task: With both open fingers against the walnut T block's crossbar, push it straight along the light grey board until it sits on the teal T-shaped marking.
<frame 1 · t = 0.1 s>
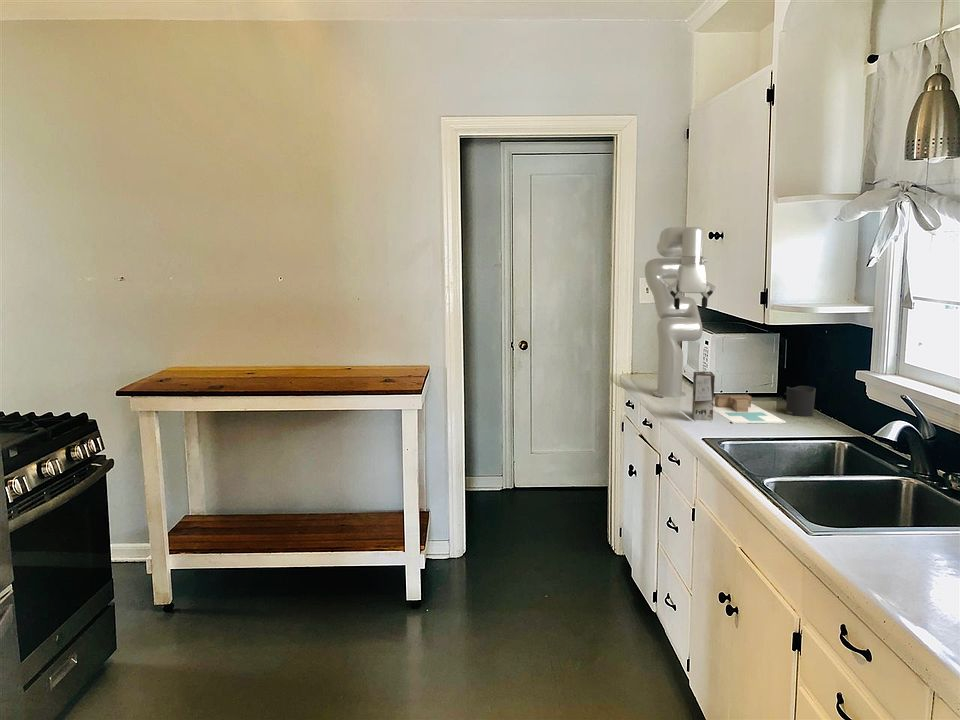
hand: (690, 309, 270), 37 cm above the worktop, tool pointing down, fingers open, 9 cm apart
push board: (740, 412, 267), on the worktop
coffee box: (702, 419, 257), on the worktop
t block: (734, 407, 273), point 1 cm above the worktop, touching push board
pen holder: (799, 416, 262), on the worktop
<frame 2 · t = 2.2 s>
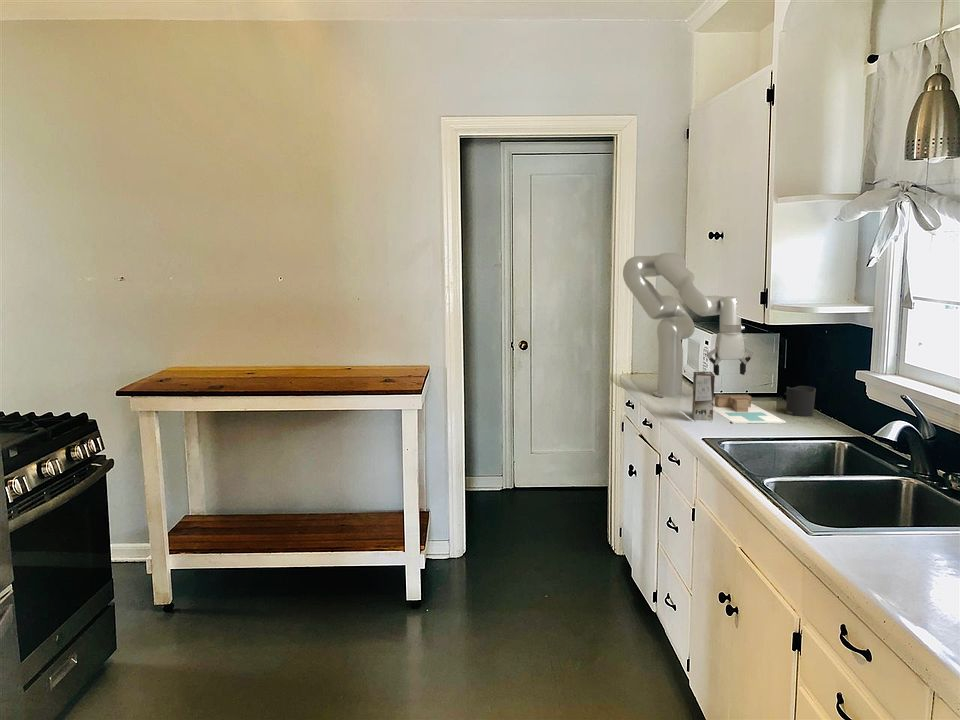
hand: (729, 374, 280), 11 cm above the worktop, tool pointing down, fingers open, 9 cm apart
nothing on the worktop moved.
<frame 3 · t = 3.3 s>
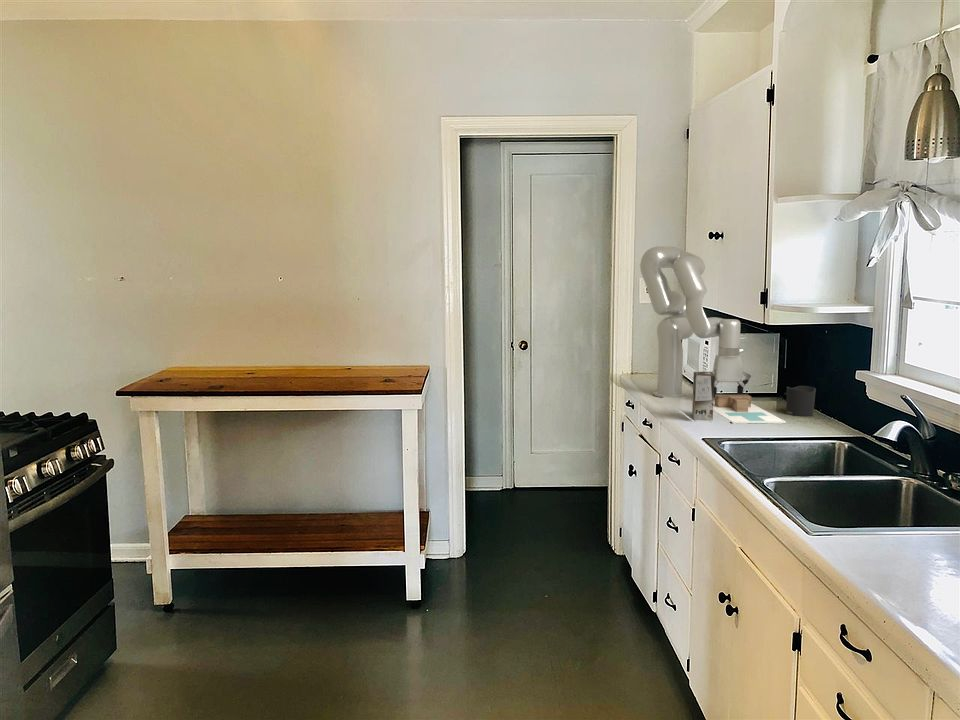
hand: (726, 396, 281), 3 cm above the worktop, tool pointing down, fingers open, 9 cm apart
nothing on the worktop moved.
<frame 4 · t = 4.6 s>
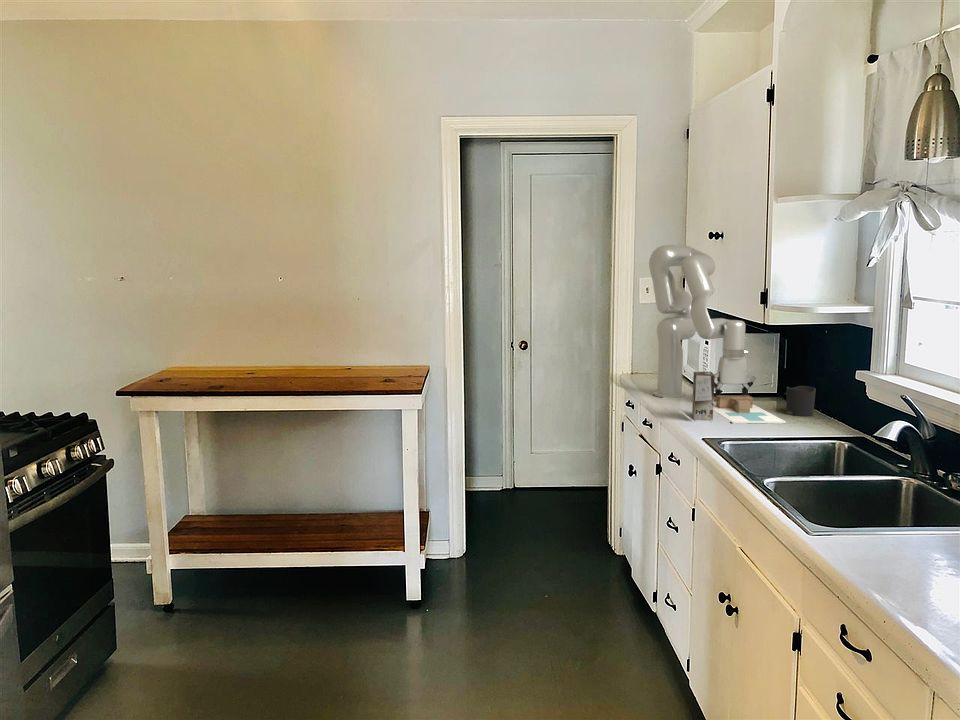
hand: (731, 399, 277), 3 cm above the worktop, tool pointing down
t block: (736, 408, 271), point 1 cm above the worktop, touching gripper
everything else where it was.
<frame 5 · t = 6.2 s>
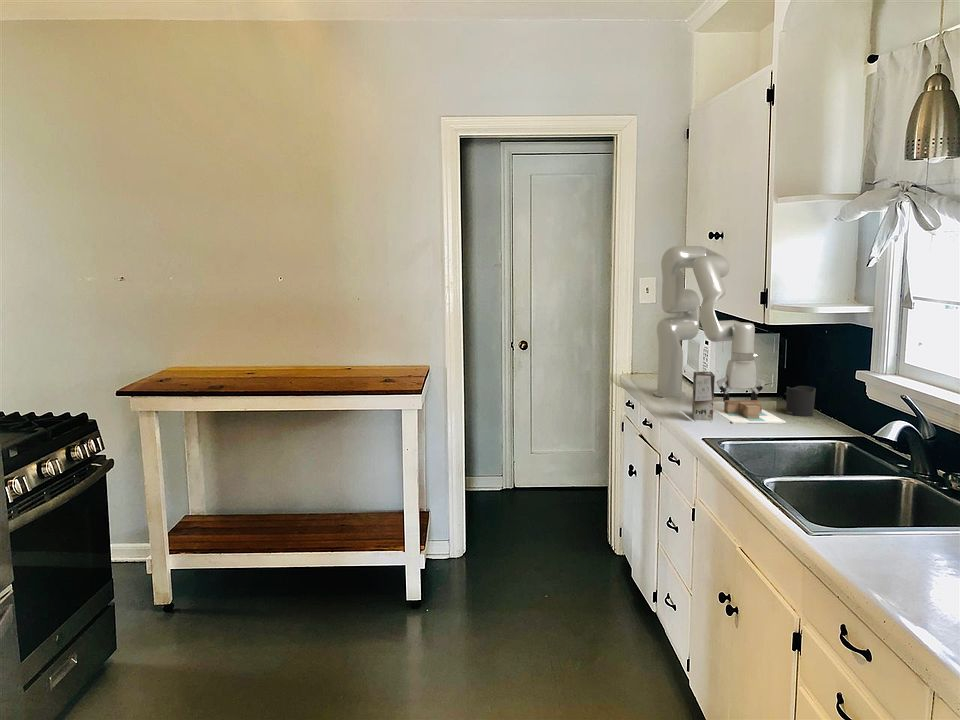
hand: (739, 404, 268), 3 cm above the worktop, tool pointing down
t block: (744, 413, 262), point 1 cm above the worktop, touching gripper
everything else where it was.
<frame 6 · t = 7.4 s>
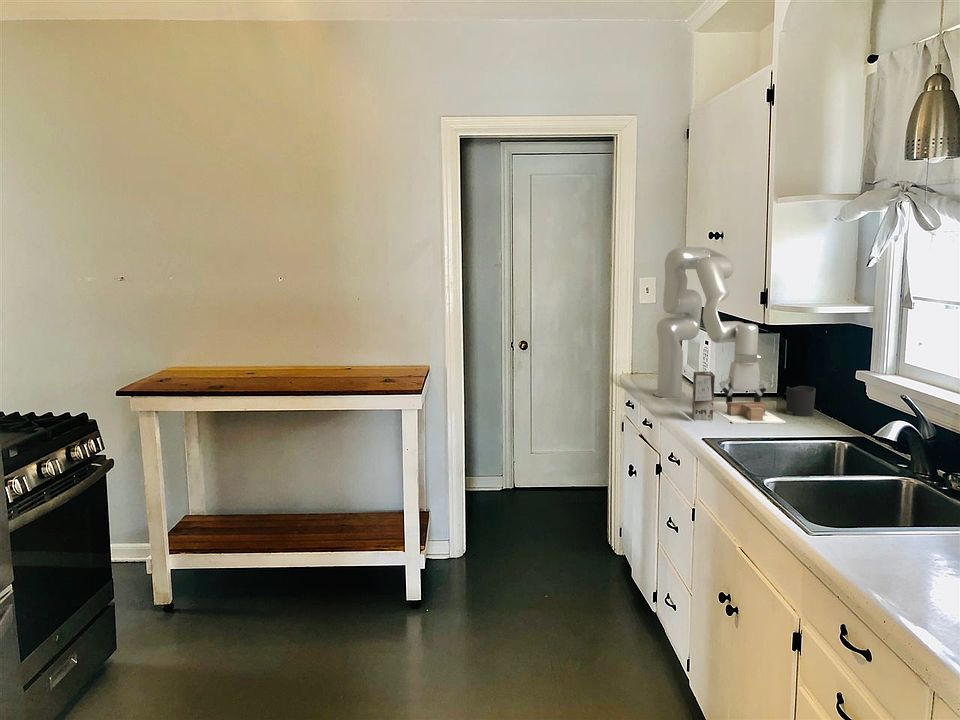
hand: (743, 406, 265), 3 cm above the worktop, tool pointing down
t block: (748, 415, 259), point 1 cm above the worktop, touching gripper, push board
everything else where it was.
when the fingers open (3 cm above the worktop, at t = 7.9 s): t block stays where it is, resting on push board.
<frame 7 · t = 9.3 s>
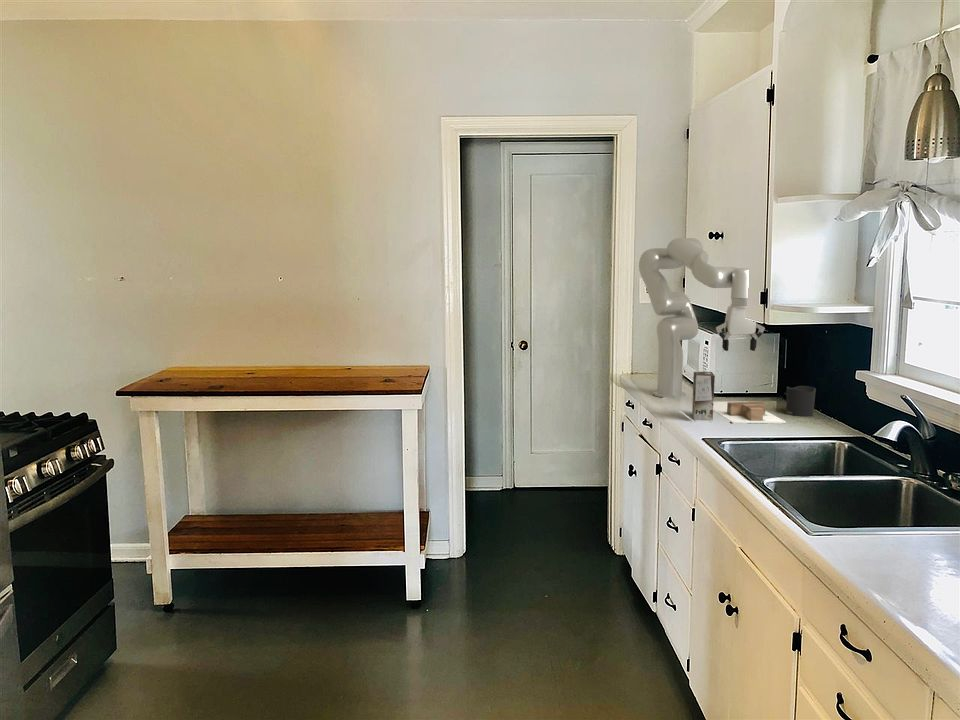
hand: (739, 350, 268), 22 cm above the worktop, tool pointing down, fingers open, 9 cm apart
t block: (748, 415, 259), point 1 cm above the worktop, touching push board
everything else where it was.
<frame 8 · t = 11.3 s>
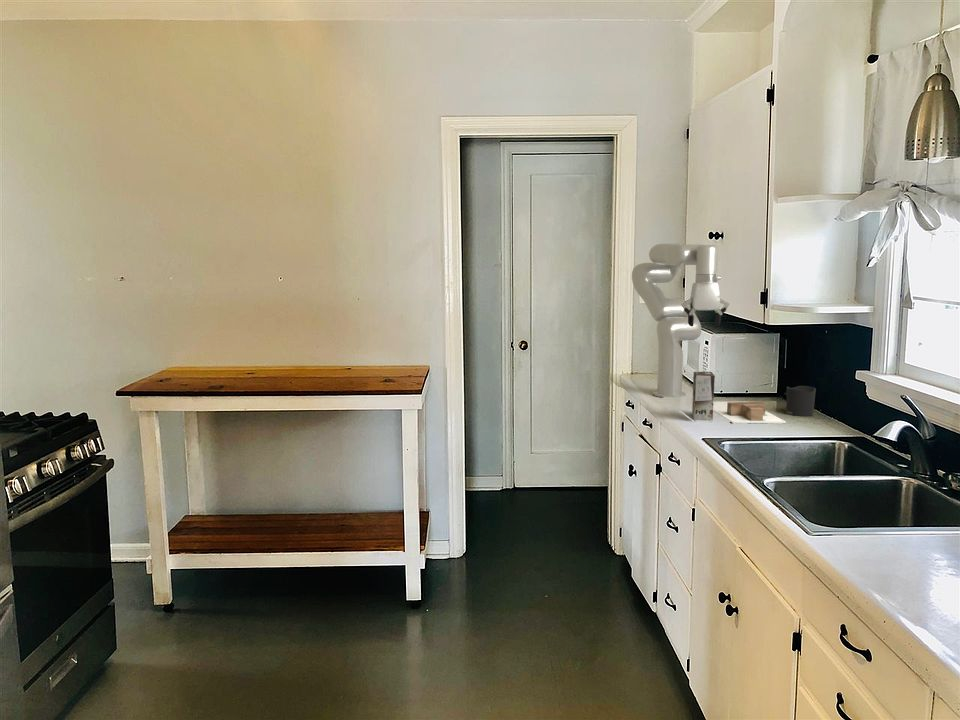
hand: (704, 325, 273), 30 cm above the worktop, tool pointing down, fingers open, 9 cm apart
nothing on the worktop moved.
at the end: t block 0.2 cm from the target spot, point 0.6 cm above the worktop; t block moved 13.8 cm from its start; t block tilted 0° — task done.
